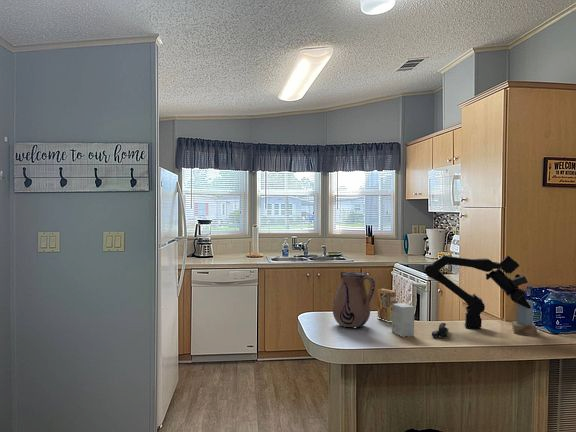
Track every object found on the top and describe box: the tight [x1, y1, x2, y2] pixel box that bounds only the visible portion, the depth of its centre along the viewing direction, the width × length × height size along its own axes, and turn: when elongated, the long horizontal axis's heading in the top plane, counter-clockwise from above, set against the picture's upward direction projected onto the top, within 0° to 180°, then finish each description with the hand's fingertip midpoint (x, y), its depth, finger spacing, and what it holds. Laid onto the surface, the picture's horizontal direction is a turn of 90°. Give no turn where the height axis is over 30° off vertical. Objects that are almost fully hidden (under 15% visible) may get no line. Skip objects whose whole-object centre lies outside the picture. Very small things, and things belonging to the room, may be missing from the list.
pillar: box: [516, 299, 534, 326], centre depth 206 cm, size 4×4×11 cm
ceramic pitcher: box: [332, 271, 376, 328], centre depth 210 cm, size 18×21×25 cm
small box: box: [391, 302, 415, 338], centre depth 198 cm, size 8×6×13 cm
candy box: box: [377, 288, 397, 321], centre depth 223 cm, size 9×4×15 cm, turn 33°
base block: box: [511, 320, 538, 337], centre depth 206 cm, size 9×9×4 cm
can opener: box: [431, 322, 449, 339], centre depth 199 cm, size 18×7×6 cm, turn 153°
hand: (528, 306), depth 206 cm, fingers open, 9 cm apart
